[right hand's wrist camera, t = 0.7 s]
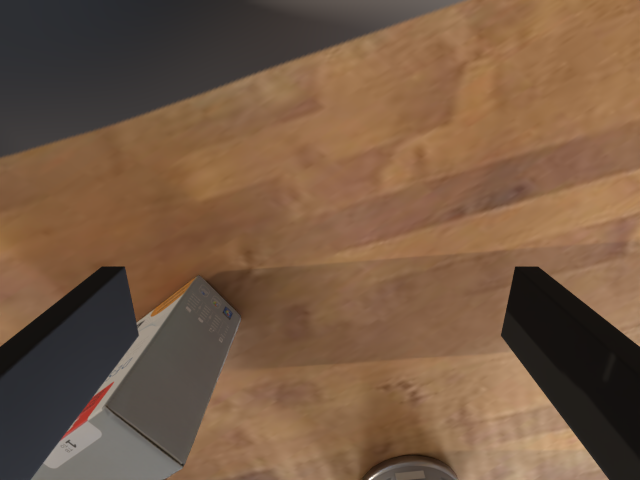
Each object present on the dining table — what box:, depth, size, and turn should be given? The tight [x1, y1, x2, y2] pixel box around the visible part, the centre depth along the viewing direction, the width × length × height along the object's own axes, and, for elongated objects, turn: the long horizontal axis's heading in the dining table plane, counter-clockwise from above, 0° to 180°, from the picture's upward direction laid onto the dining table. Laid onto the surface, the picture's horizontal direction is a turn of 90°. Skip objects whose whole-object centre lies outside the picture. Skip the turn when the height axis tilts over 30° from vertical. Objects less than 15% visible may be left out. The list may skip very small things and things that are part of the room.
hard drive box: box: [31, 275, 241, 480], centre depth 37 cm, size 16×8×20 cm, turn 128°
